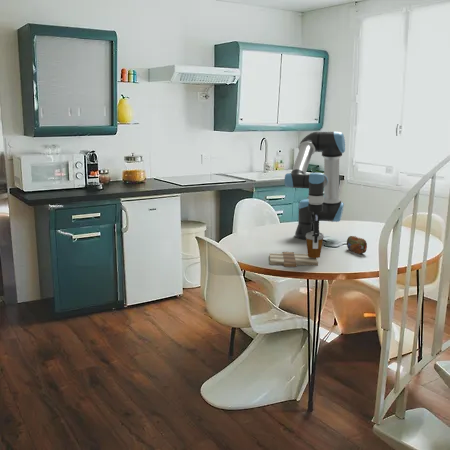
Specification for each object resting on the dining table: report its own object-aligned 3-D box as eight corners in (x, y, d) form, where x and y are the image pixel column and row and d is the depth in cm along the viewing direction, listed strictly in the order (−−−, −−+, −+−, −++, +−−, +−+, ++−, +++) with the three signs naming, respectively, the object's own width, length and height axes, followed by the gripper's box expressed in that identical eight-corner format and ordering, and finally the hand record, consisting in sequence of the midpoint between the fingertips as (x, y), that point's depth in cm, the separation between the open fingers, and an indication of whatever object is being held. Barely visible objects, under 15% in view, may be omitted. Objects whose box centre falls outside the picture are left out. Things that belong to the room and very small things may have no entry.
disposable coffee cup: (321, 253, 287) (321, 231, 284) (325, 258, 278) (325, 236, 275) (303, 254, 286) (303, 231, 284) (306, 259, 277) (307, 236, 275)
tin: (345, 249, 306) (346, 234, 304) (350, 248, 307) (351, 233, 305) (362, 255, 292) (363, 240, 290) (367, 255, 293) (368, 239, 291)
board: (269, 254, 295) (269, 251, 294) (314, 255, 293) (314, 252, 293) (270, 266, 273) (270, 263, 273) (318, 267, 272) (318, 264, 271)
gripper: (306, 199, 287) (305, 240, 292) (310, 207, 265) (308, 251, 270) (320, 199, 286) (319, 240, 291) (325, 207, 265) (324, 251, 270)
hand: (314, 245), depth 281 cm, fingers closed on disposable coffee cup, 9 cm apart
